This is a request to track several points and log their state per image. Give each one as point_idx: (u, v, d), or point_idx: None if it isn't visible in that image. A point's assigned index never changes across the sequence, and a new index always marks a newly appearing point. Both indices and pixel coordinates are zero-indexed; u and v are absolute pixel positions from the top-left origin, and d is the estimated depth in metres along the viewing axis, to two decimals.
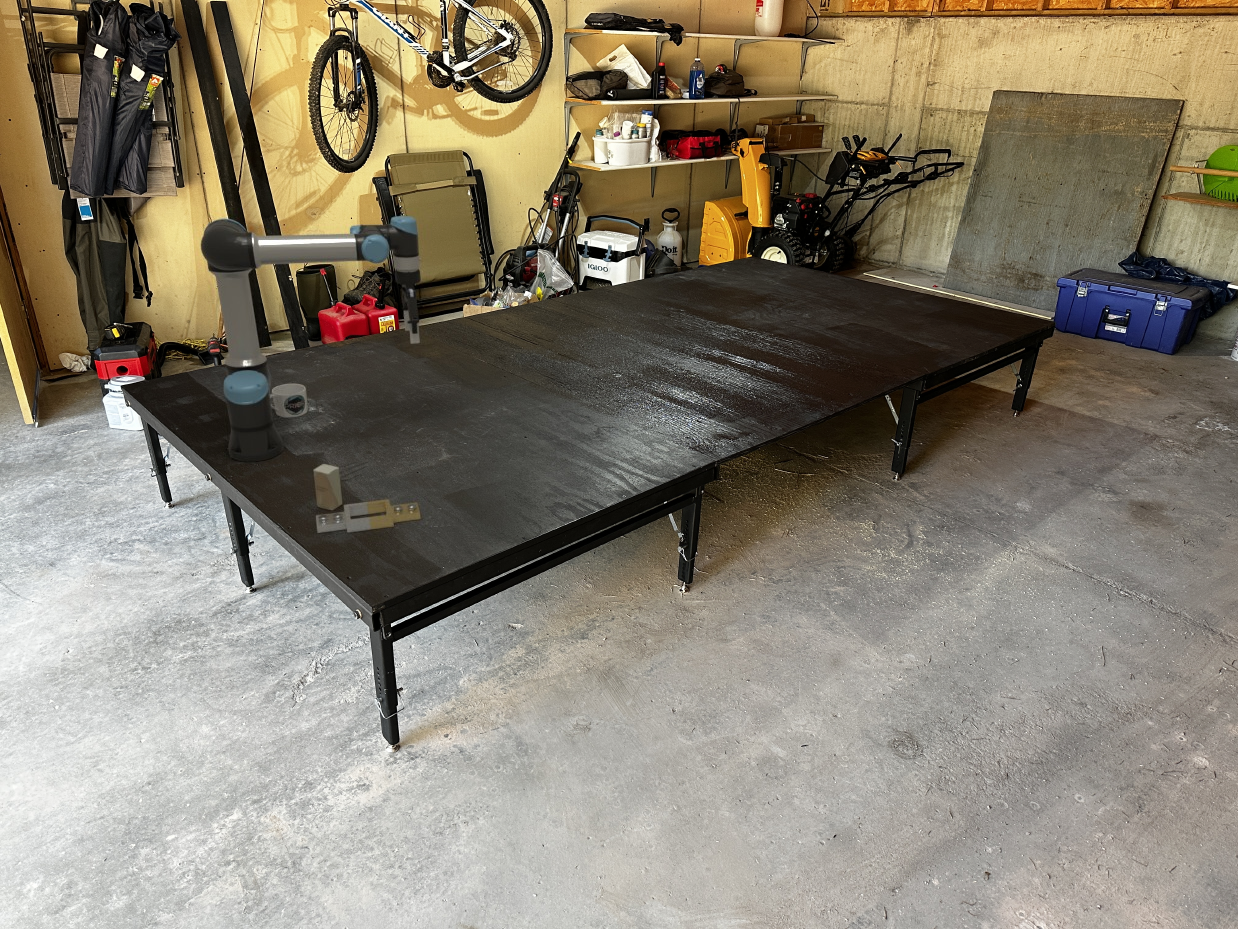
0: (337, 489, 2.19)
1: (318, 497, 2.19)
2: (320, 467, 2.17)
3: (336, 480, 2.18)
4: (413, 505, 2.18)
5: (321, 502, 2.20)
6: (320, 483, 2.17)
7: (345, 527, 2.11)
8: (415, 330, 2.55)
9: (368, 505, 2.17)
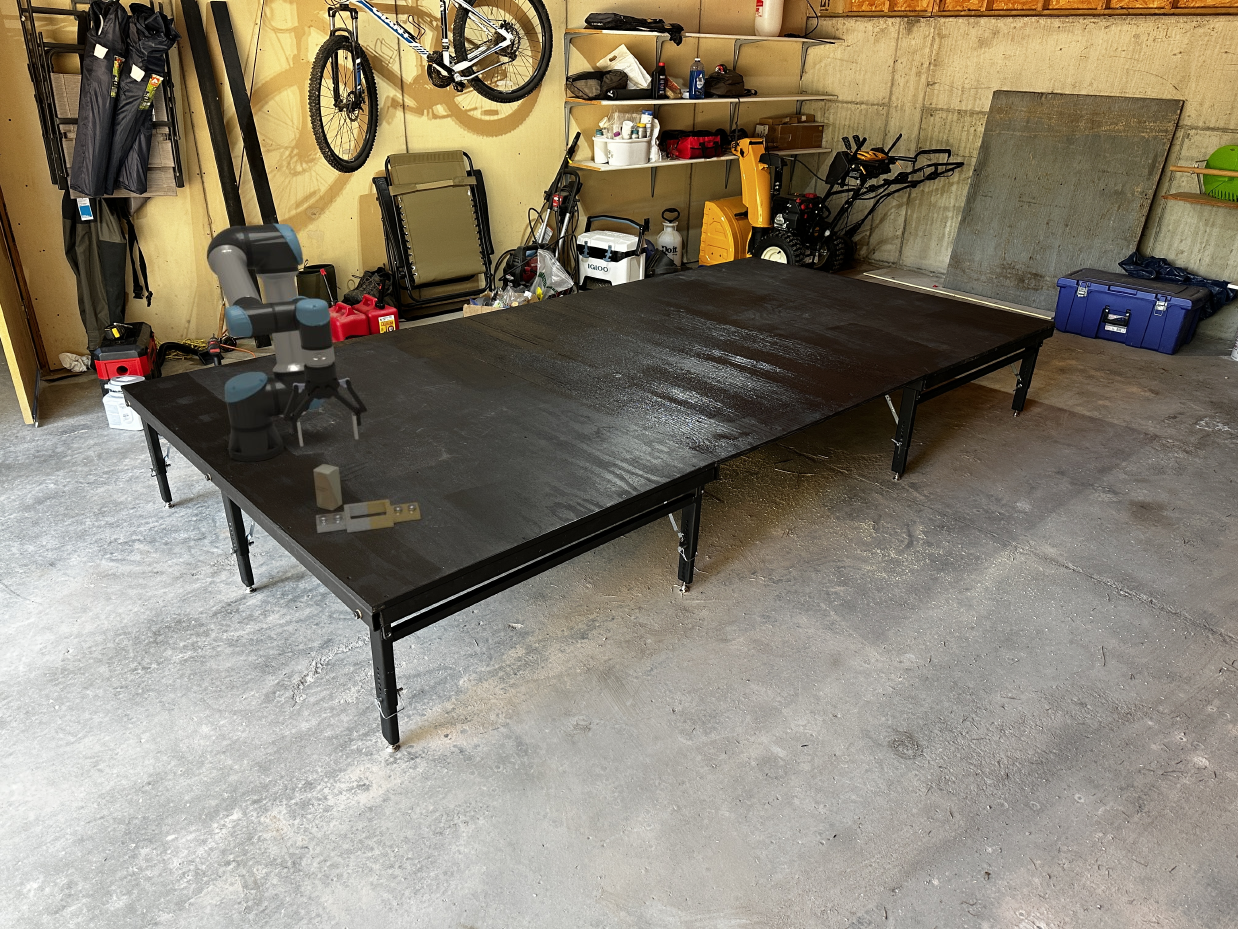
0: (337, 489, 2.19)
1: (318, 497, 2.19)
2: (320, 467, 2.17)
3: (336, 480, 2.18)
4: (413, 505, 2.18)
5: (321, 502, 2.20)
6: (320, 483, 2.17)
7: (345, 527, 2.11)
8: None
9: (368, 505, 2.17)
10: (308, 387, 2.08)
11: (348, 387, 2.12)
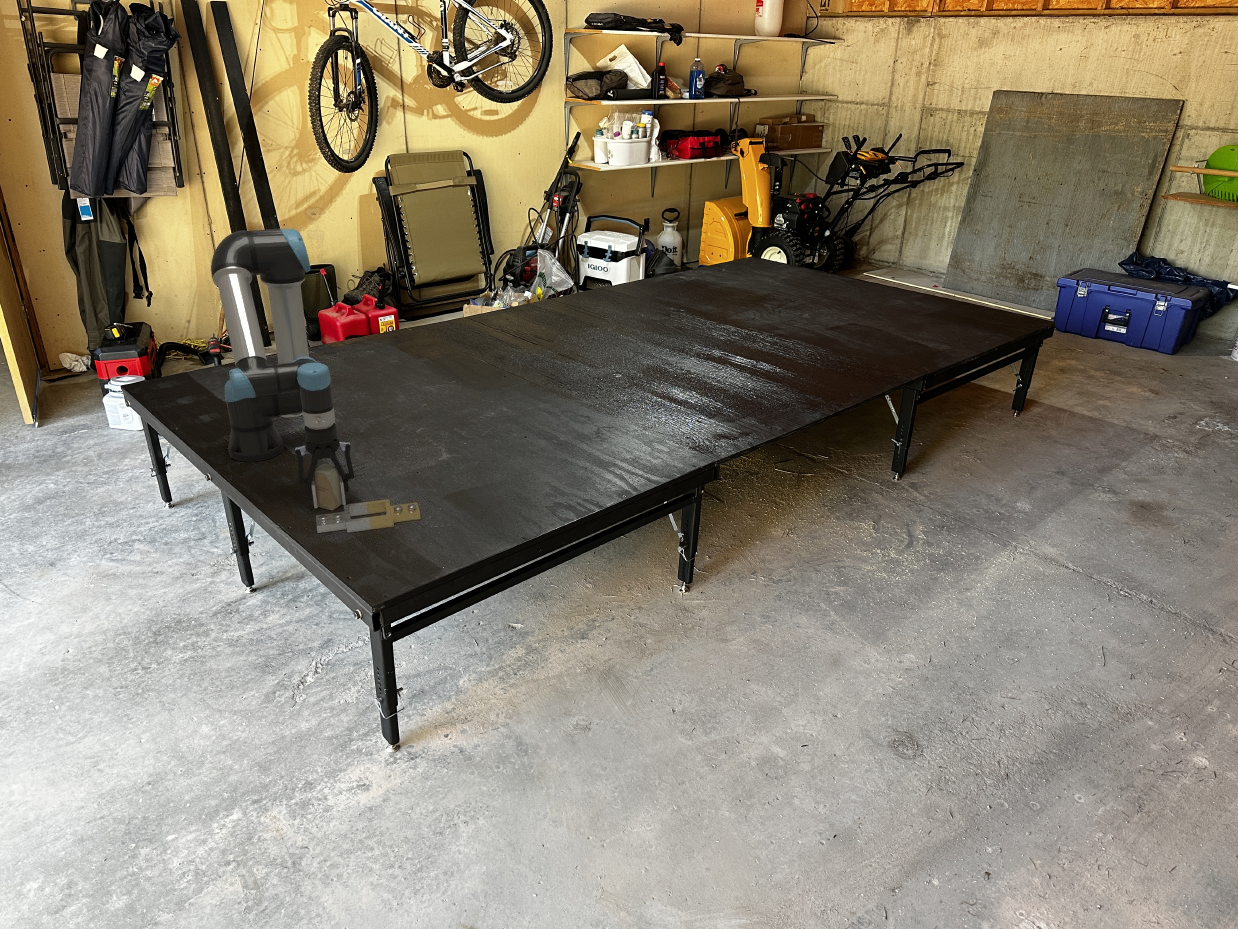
0: (337, 489, 2.19)
1: (318, 497, 2.19)
2: (320, 467, 2.17)
3: (336, 480, 2.18)
4: (413, 505, 2.18)
5: (321, 502, 2.20)
6: (320, 483, 2.17)
7: (345, 527, 2.11)
8: None
9: (368, 505, 2.17)
10: (309, 448, 2.12)
11: (346, 451, 2.16)
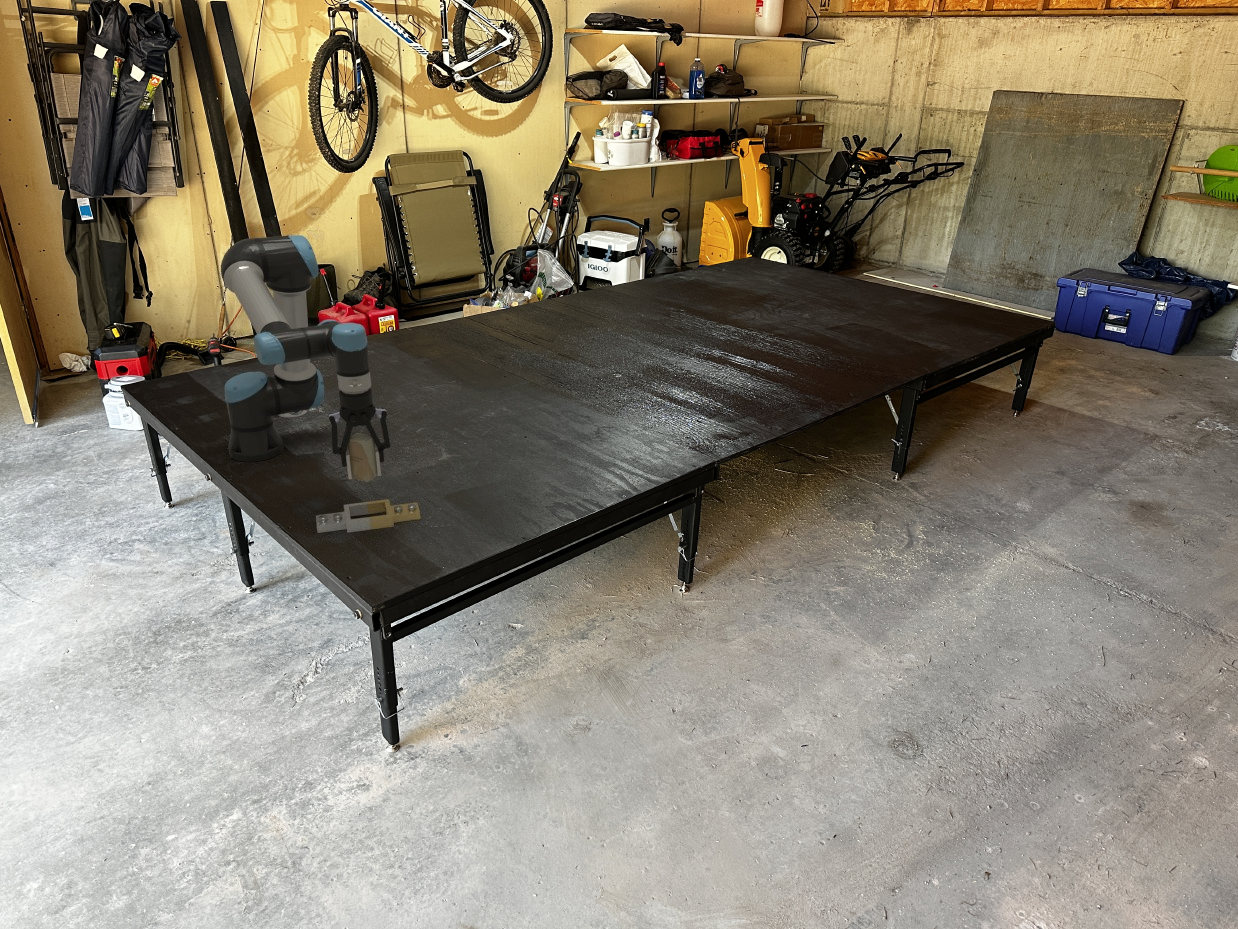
0: (372, 459, 2.07)
1: (352, 468, 2.07)
2: (354, 436, 2.05)
3: (371, 450, 2.06)
4: (413, 505, 2.18)
5: (355, 473, 2.07)
6: (355, 453, 2.05)
7: (345, 527, 2.11)
8: None
9: (368, 505, 2.17)
10: (343, 414, 2.00)
11: (382, 418, 2.04)
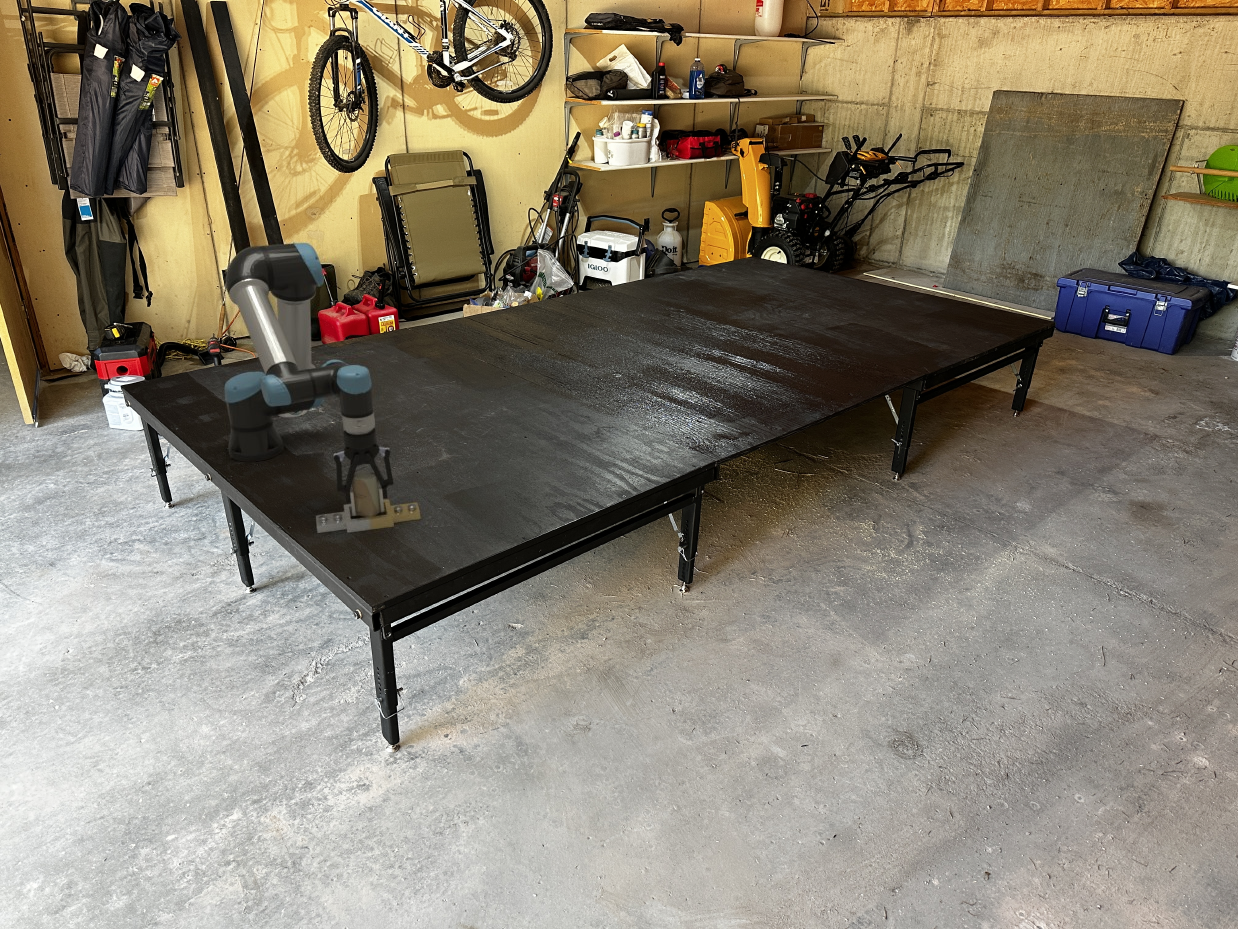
0: (376, 496, 2.12)
1: (356, 504, 2.12)
2: (358, 473, 2.10)
3: (374, 487, 2.11)
4: (413, 505, 2.18)
5: (359, 510, 2.12)
6: (359, 490, 2.09)
7: (345, 527, 2.11)
8: None
9: None
10: (348, 453, 2.05)
11: (385, 457, 2.08)
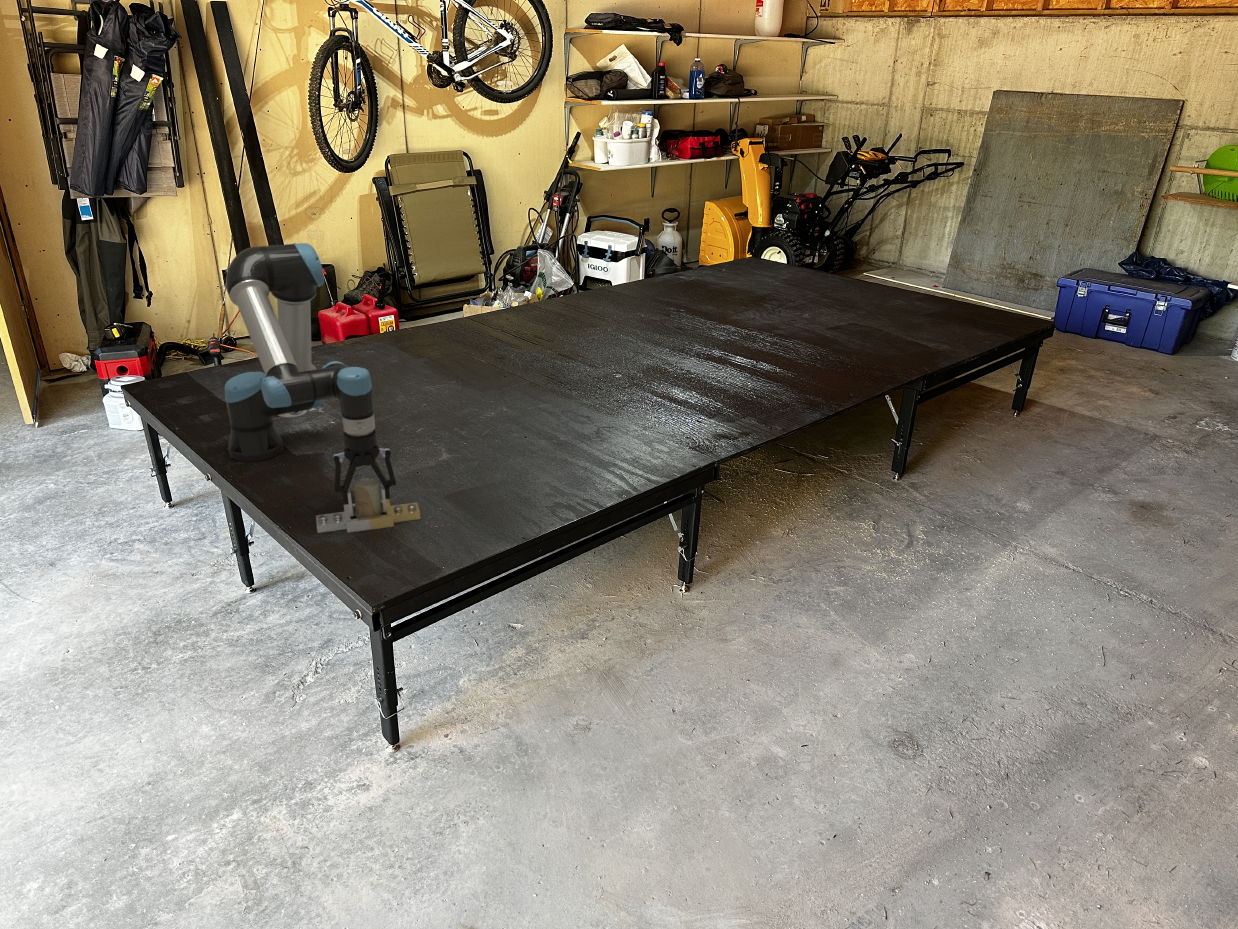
0: (377, 504, 2.13)
1: (357, 512, 2.13)
2: (360, 481, 2.11)
3: (376, 495, 2.12)
4: (413, 505, 2.18)
5: (360, 517, 2.13)
6: (360, 498, 2.11)
7: (345, 527, 2.11)
8: None
9: None
10: (348, 455, 2.05)
11: (386, 458, 2.08)
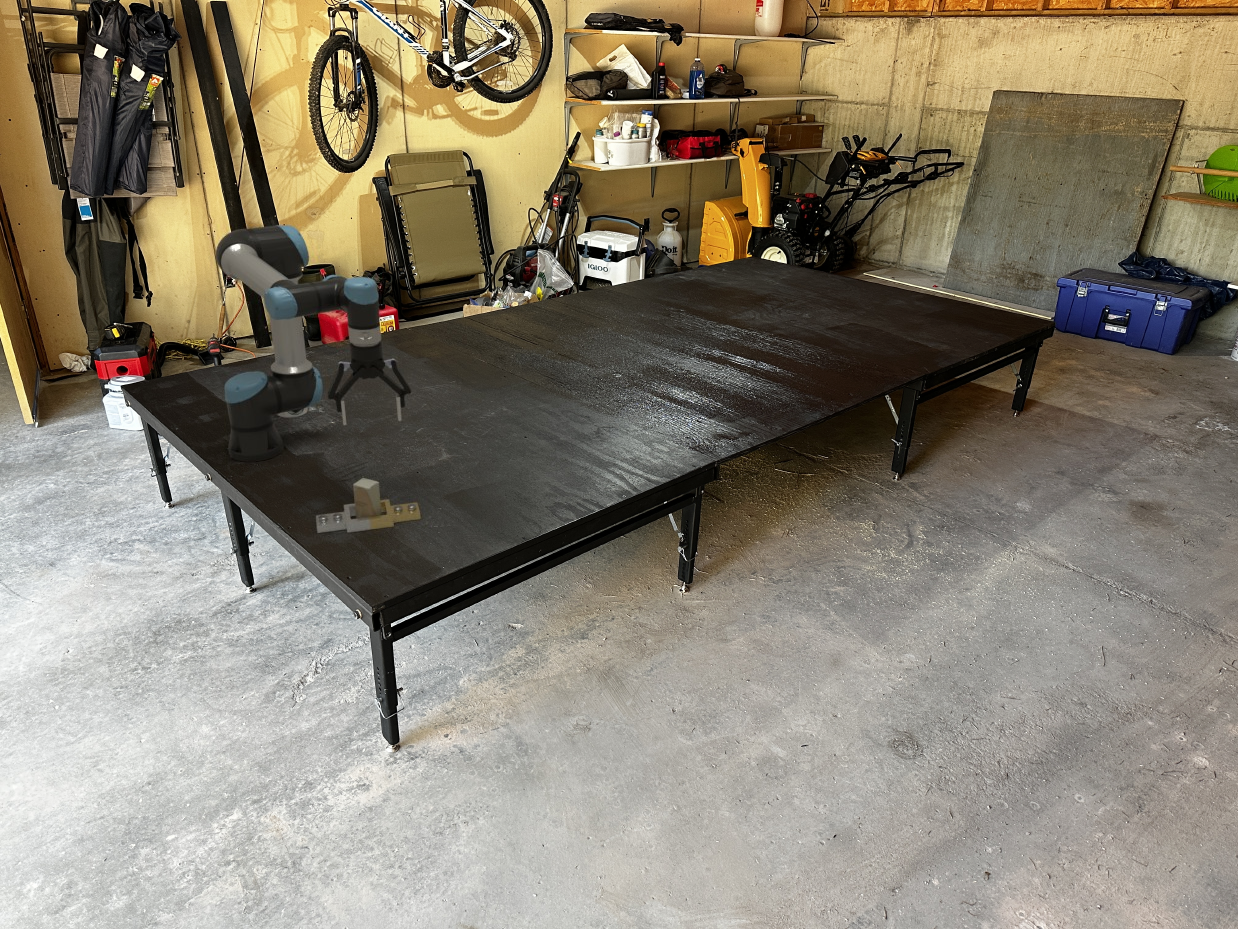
0: (377, 504, 2.13)
1: (357, 512, 2.13)
2: (360, 481, 2.11)
3: (376, 495, 2.12)
4: (413, 505, 2.18)
5: None
6: (360, 498, 2.10)
7: (345, 527, 2.11)
8: None
9: None
10: (353, 366, 2.06)
11: (393, 368, 2.09)
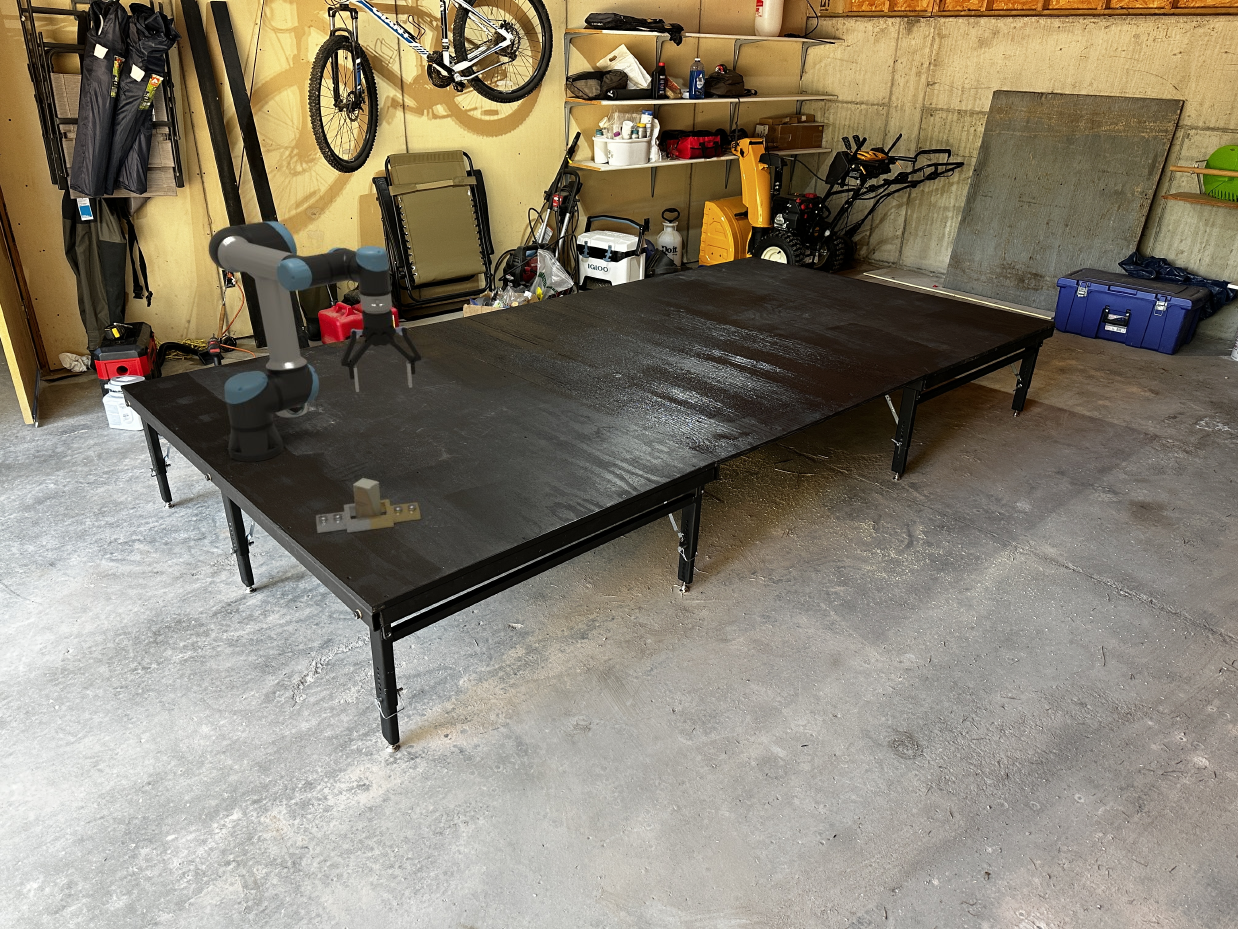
0: (377, 504, 2.13)
1: (357, 512, 2.13)
2: (360, 481, 2.11)
3: (376, 495, 2.12)
4: (413, 505, 2.18)
5: None
6: (360, 498, 2.10)
7: (345, 527, 2.11)
8: None
9: None
10: (365, 333, 2.13)
11: (404, 335, 2.16)
